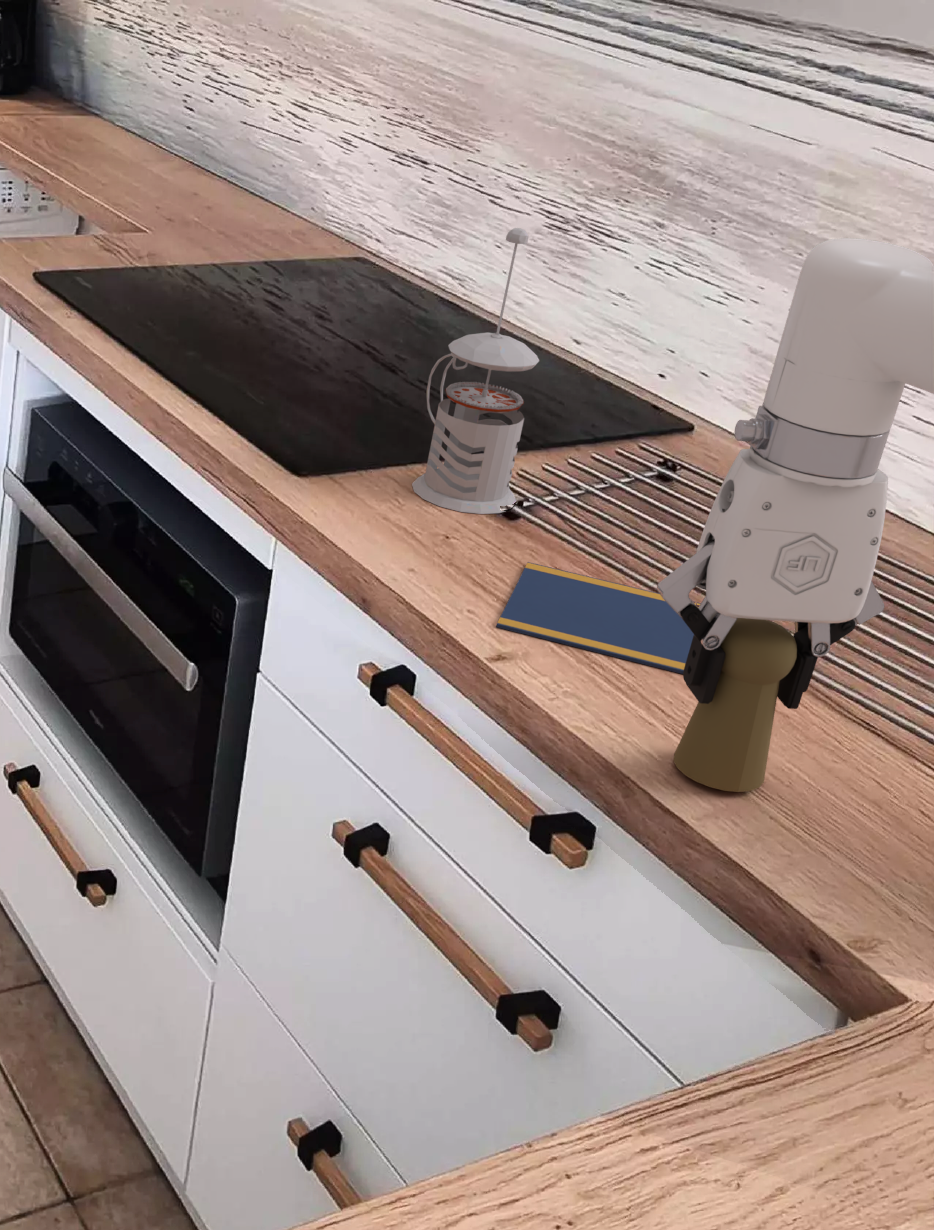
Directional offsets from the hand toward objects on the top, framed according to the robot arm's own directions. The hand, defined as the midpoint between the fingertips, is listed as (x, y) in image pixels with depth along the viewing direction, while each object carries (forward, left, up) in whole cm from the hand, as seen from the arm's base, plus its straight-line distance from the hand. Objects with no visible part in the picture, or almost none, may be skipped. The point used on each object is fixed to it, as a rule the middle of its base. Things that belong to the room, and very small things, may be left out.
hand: (741, 694), depth 116 cm
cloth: (+9, -22, -6) cm, 24 cm away
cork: (0, 0, -6) cm, 6 cm away
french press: (+27, -43, -7) cm, 51 cm away
